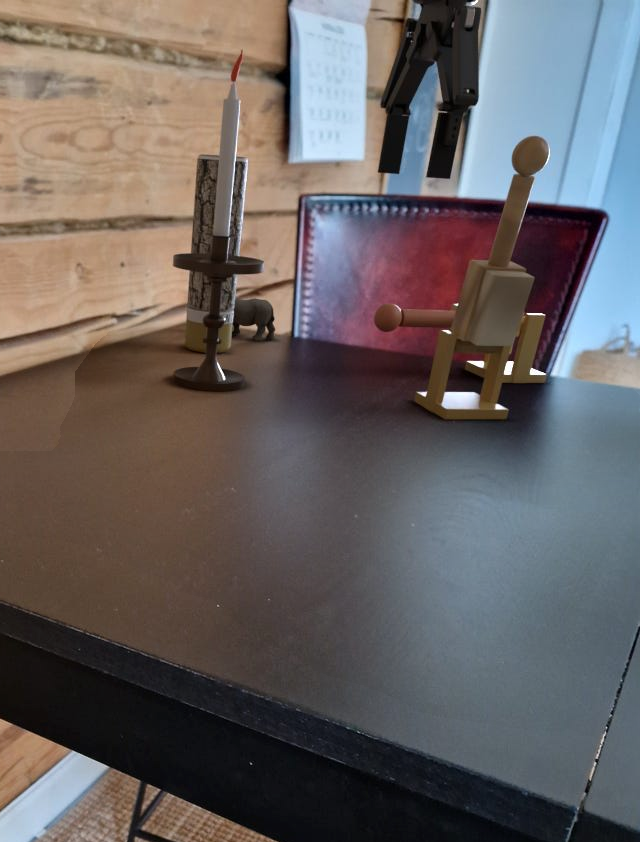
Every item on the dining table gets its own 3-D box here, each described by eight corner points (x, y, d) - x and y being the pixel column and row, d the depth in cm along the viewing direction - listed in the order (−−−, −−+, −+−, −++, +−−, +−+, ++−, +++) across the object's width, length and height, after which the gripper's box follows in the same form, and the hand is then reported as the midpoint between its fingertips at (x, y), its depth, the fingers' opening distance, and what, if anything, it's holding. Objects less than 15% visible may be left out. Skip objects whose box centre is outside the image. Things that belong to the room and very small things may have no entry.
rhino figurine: (196, 328, 141) (199, 289, 138) (276, 339, 137) (281, 299, 134) (187, 332, 138) (190, 292, 135) (269, 343, 133) (274, 302, 130)
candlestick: (266, 383, 110) (305, 55, 92) (221, 397, 102) (254, 42, 85) (196, 368, 115) (220, 55, 98) (148, 380, 107) (165, 43, 90)
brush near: (582, 143, 84) (550, 135, 89) (533, 139, 83) (503, 131, 88) (509, 364, 98) (484, 348, 102) (467, 364, 96) (443, 347, 101)
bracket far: (494, 382, 118) (511, 314, 113) (464, 369, 125) (479, 303, 120) (545, 383, 119) (564, 315, 115) (513, 369, 126) (529, 305, 122)
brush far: (378, 352, 114) (386, 306, 111) (362, 344, 118) (369, 299, 115) (526, 355, 118) (537, 310, 115) (504, 346, 123) (515, 304, 120)
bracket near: (507, 419, 101) (527, 340, 96) (444, 419, 99) (462, 338, 95) (472, 401, 108) (490, 326, 103) (412, 401, 106) (428, 325, 101)
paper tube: (181, 351, 124) (194, 154, 112) (187, 343, 130) (200, 154, 117) (227, 356, 123) (246, 157, 111) (232, 347, 129) (250, 157, 117)
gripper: (374, -27, 105) (344, 169, 116) (479, -66, 84) (431, 178, 95) (429, -20, 107) (395, 173, 117) (546, -57, 86) (492, 182, 96)
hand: (411, 176), depth 106 cm, fingers open, 13 cm apart
